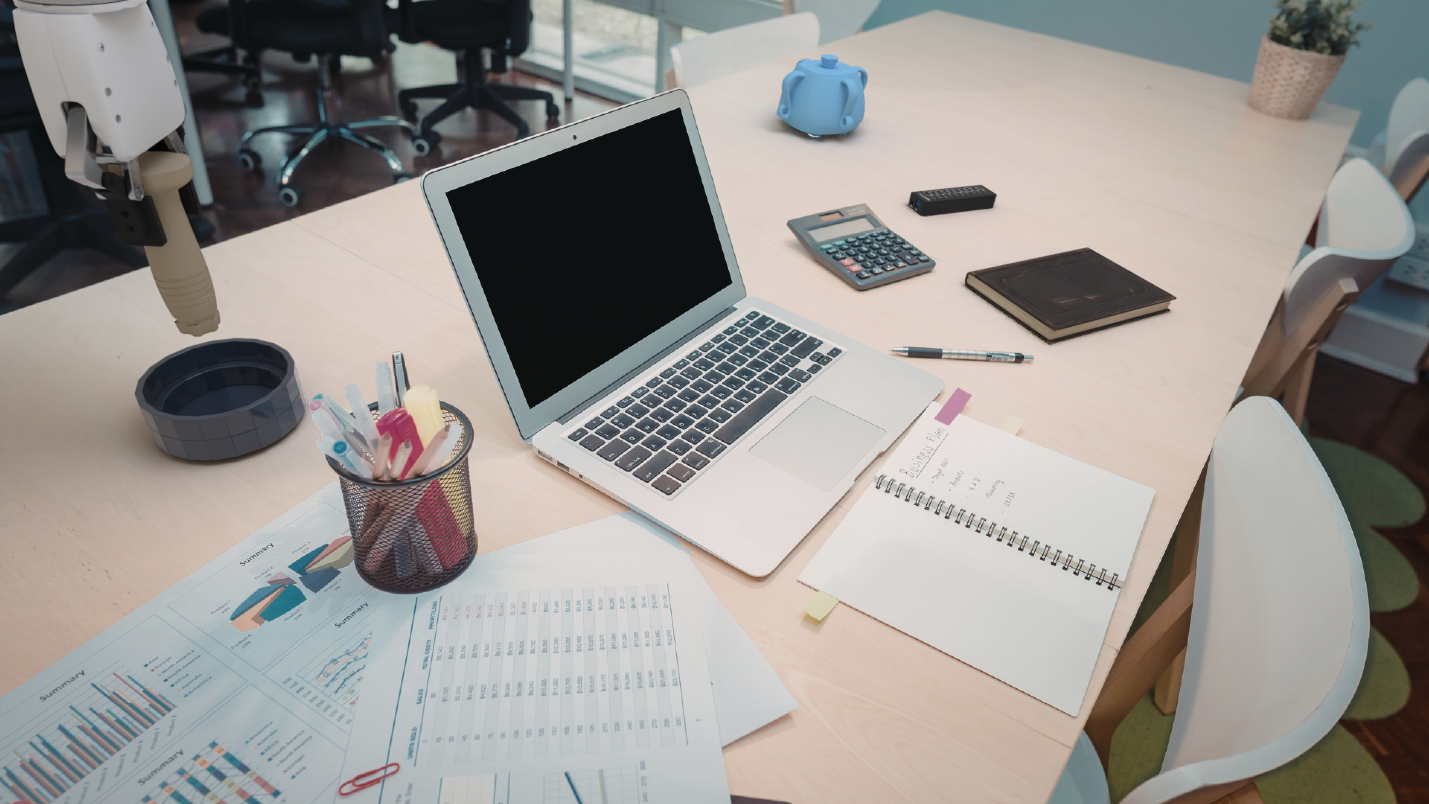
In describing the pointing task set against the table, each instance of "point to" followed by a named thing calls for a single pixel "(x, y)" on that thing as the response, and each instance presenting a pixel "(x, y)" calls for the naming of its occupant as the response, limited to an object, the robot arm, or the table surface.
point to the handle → (177, 245)
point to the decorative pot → (823, 96)
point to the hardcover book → (1068, 294)
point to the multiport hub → (951, 200)
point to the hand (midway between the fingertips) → (163, 225)
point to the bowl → (221, 398)
